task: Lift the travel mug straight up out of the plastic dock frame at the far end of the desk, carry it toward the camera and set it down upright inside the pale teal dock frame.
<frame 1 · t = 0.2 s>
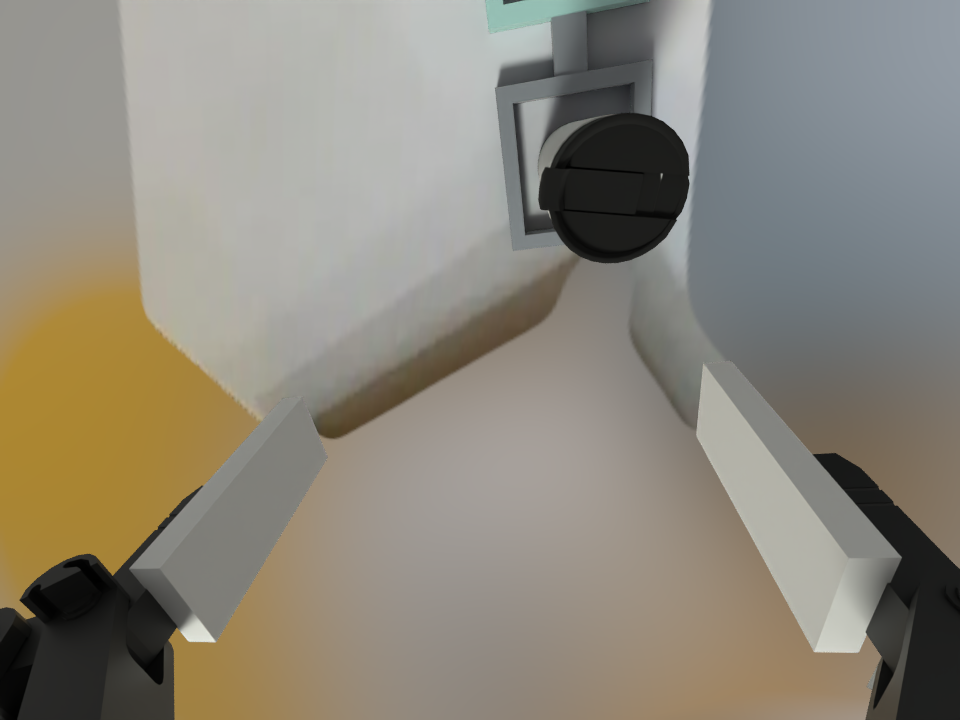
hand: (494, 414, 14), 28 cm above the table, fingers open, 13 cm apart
travel mug: (573, 163, 36), resting in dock
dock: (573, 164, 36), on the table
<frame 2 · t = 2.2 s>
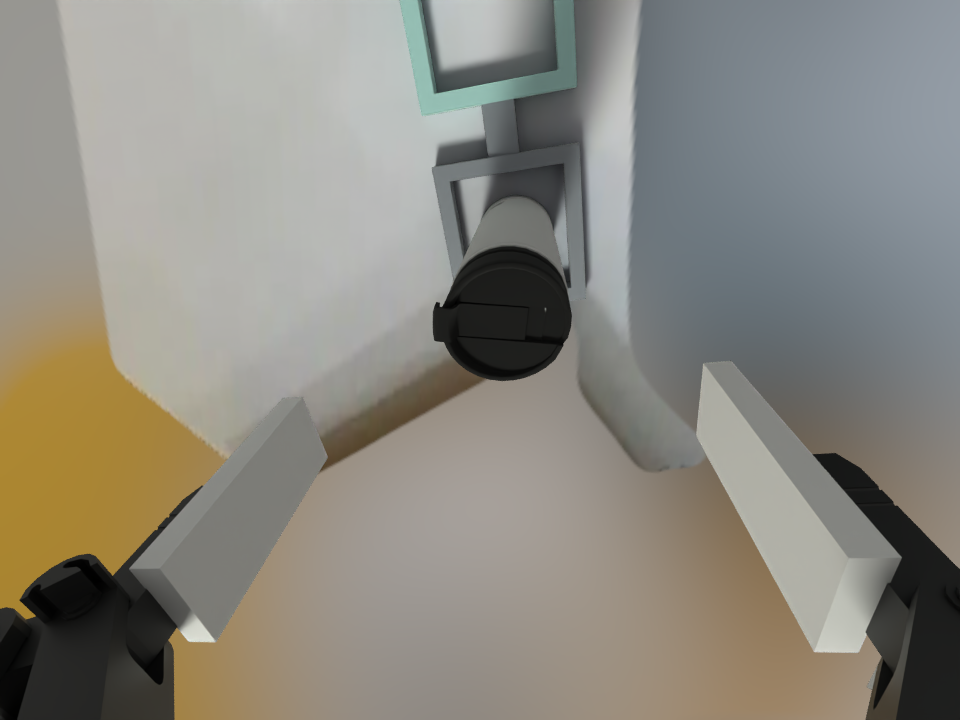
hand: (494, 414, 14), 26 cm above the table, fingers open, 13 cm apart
travel mug: (513, 232, 37), resting in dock
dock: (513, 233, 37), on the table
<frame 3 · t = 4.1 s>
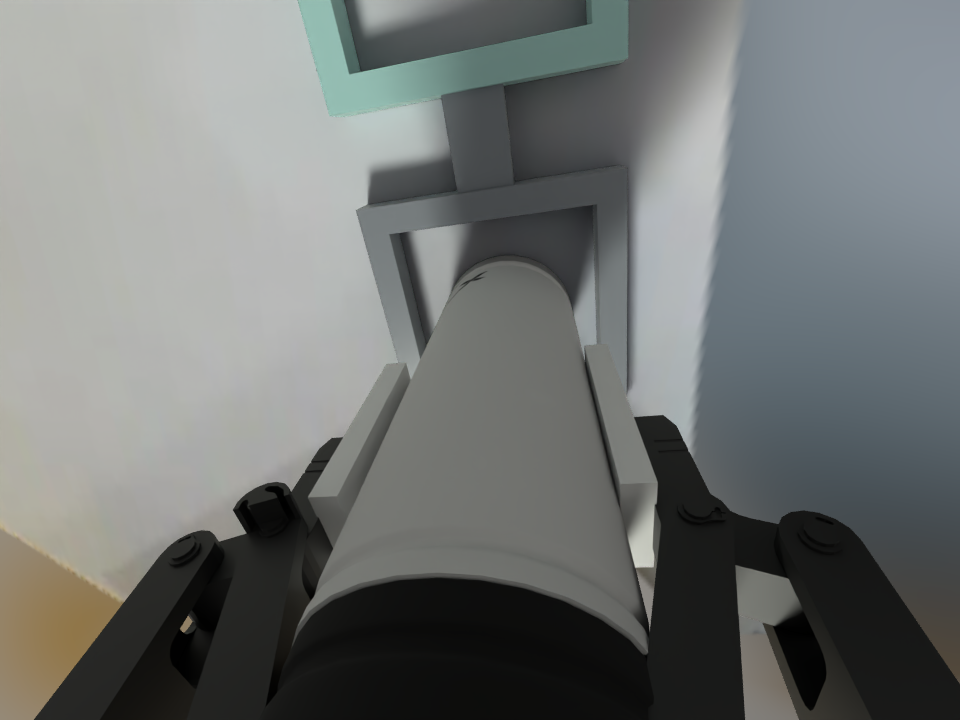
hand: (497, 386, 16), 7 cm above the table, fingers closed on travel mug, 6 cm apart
travel mug: (505, 312, 22), resting in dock, touching gripper
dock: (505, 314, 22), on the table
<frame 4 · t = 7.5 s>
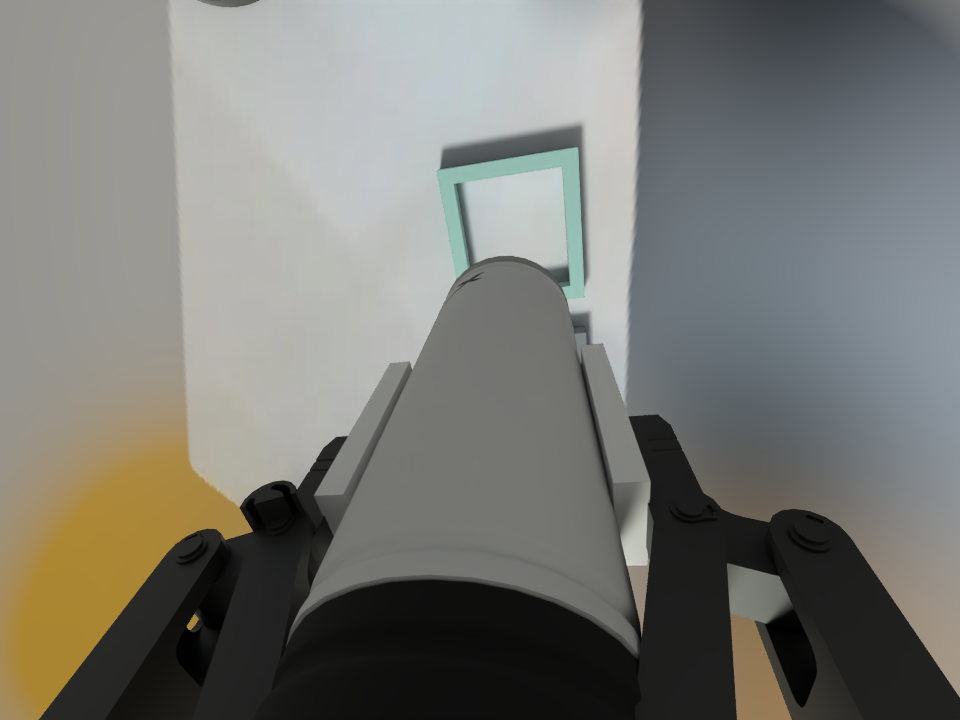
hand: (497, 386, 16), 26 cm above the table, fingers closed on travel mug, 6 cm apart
travel mug: (503, 313, 22), point 19 cm above the table, touching gripper
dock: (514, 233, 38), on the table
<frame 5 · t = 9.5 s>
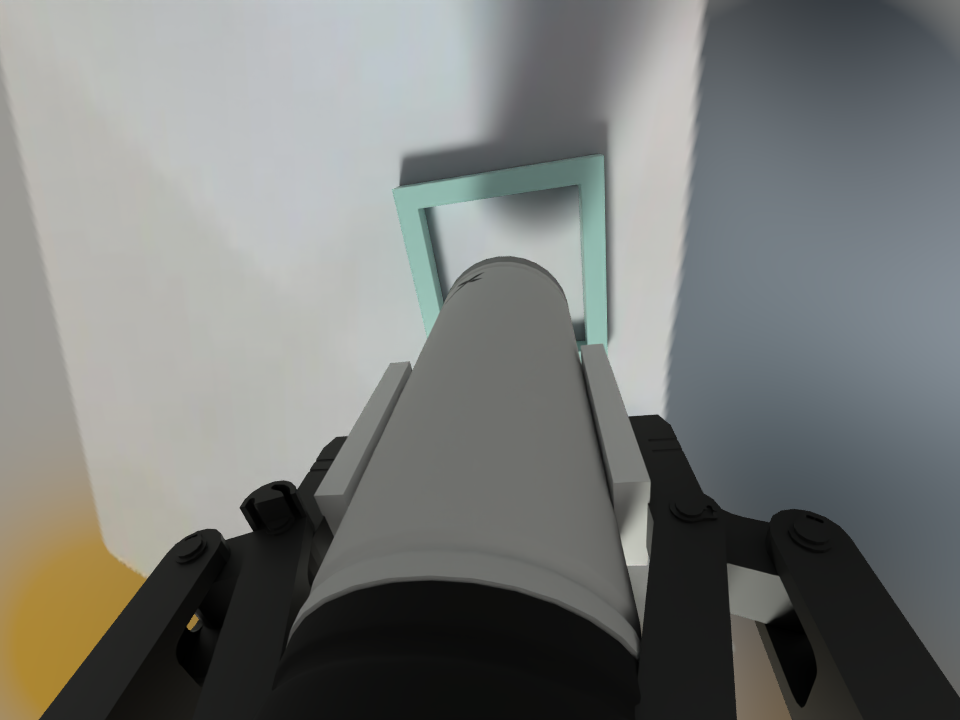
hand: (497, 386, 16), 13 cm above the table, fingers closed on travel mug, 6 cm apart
travel mug: (503, 313, 22), point 6 cm above the table, touching gripper
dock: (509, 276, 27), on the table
when the fingers open (8 cm above the table, at t = 10.9 s): travel mug drops 1 cm, resting in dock.
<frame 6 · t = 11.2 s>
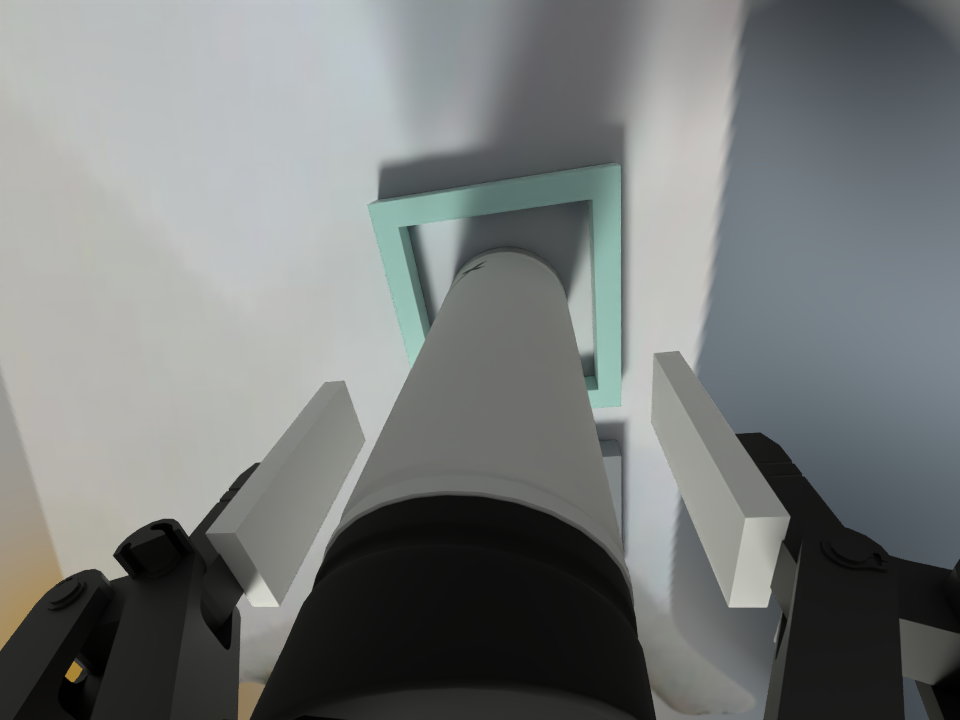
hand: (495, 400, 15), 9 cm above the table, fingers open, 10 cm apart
travel mug: (503, 302, 23), resting in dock
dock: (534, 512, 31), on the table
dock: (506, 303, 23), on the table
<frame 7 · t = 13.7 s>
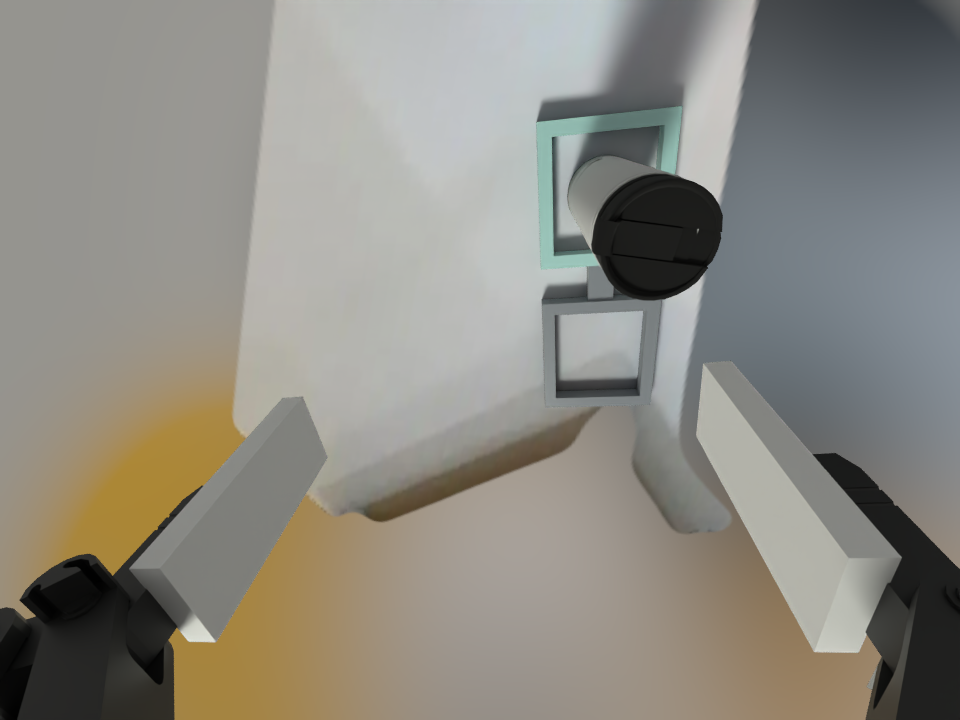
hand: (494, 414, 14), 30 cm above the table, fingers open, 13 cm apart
travel mug: (600, 192, 39), resting in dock
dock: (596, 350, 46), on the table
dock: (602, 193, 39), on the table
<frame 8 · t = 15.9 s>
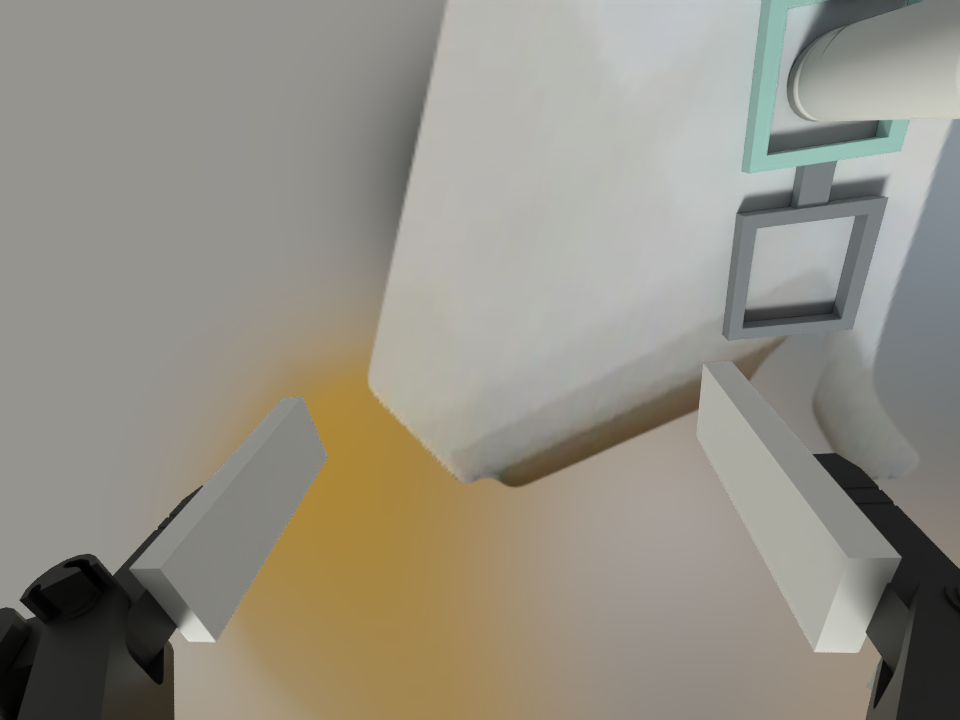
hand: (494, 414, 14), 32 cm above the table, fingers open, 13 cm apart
travel mug: (824, 76, 34), resting in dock
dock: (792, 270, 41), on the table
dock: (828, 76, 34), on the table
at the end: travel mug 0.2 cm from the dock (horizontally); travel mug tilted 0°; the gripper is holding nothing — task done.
